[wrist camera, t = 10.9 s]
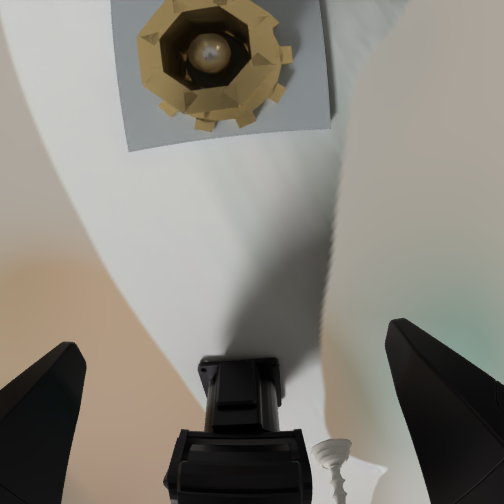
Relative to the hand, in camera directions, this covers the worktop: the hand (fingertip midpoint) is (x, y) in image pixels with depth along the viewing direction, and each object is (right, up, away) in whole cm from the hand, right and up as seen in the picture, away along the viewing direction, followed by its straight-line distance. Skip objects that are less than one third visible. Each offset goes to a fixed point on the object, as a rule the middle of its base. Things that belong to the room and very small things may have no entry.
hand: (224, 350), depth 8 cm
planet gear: (-1, +12, +6) cm, 14 cm away
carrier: (-1, +15, +6) cm, 16 cm away
